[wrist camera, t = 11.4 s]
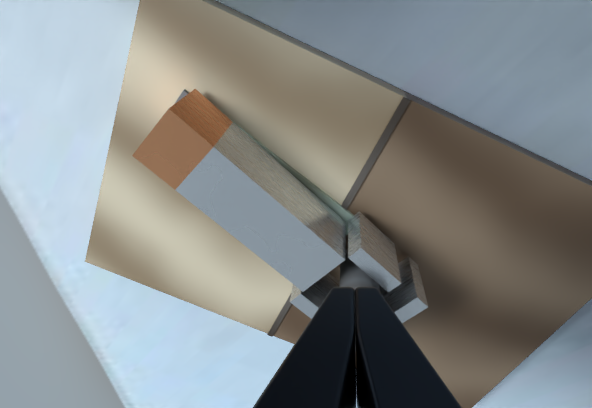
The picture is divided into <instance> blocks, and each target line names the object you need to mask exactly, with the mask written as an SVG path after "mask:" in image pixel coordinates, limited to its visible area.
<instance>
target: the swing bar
mask: <svg viewBox="0 0 592 408" xmlns="http://www.w3.org/2000/svg"><path fill="white" fill-rule="evenodd" d="M132 156H133V157H134V158H136V159H137V160H138V161H139V162H141V163H142V164H143V165H144V166H146V167H147V168H148V169H149V170H151V171H152V172H153V173H154V174H156V175H157V176H158V177H159V178H161V179H162V180H163V181H164V182H166V183H167V184H168V185H169V186H171V187H172V188H173V189H175V190H176V191H177V192H178V193H180V194H181V195H182V196H183V197H185V198H186V199H187V200H188V201H190V202H191V203H192V204H193V205H195V206H196V207H197V208H198V209H200V210H201V211H202V212H203V213H205V214H206V215H207V216H208V217H210V218H211V219H212V220H213V221H215V222H216V223H217V224H218V225H220V226H221V227H222V228H223V229H225V230H226V231H227V232H228V233H230V234H231V235H232V236H233V237H235V238H236V239H237V240H238V241H240V242H241V243H242V244H243V245H245V246H246V247H247V248H248V249H250V250H251V251H252V252H254V253H255V254H256V255H257V256H259V257H260V258H261V259H262V260H264V261H265V262H266V263H267V264H269V265H270V266H271V267H272V268H274V269H275V270H276V271H277V272H279V273H280V274H281V275H282V276H284V277H285V278H286V279H287V280H289V281H290V282H291V283H292V284H293V286H292V292H291V298H290V303H292V304H293V305H294V306H295V307H297V308H298V309H299V310H301V311H302V312H303V313H304V314H306V315H307V316H308V317H310V318H311V319H312V318H313V316H314V315H315V313H316V312H317V310H318V309H319V307H320V305H321V304H322V302H323V301H324V299H325V298H326V296H327V295H328V293H329V292H330V290H331V289H332V288H333V287H339V286H340V282H339V281H338V280H337V279H336V278H335V277H333V276H332V275H331V274H330V273H329V272H330V271H331V270H333V269H334V268H335V267H337V266H338V265H339V264H341V263H342V262H343V261H345V248H346V222H345V221H344V220H342V219H341V218H340V217H339V216H338V215H337V214H336V213H335V212H333V211H332V210H331V209H330V208H329V207H328V206H327V205H326V204H324V203H323V202H322V201H321V200H320V199H319V198H318V197H317V196H315V195H314V194H313V193H312V192H311V191H310V190H309V189H308V188H307V187H305V186H304V185H303V184H302V183H301V182H300V181H299V180H298V179H296V178H295V177H294V176H293V175H292V174H291V173H290V172H289V171H287V170H286V169H285V168H284V167H283V166H282V165H281V164H280V163H278V162H277V161H276V160H275V159H274V158H273V157H272V156H271V155H269V154H268V153H267V152H266V151H265V150H264V149H263V148H262V147H260V146H259V145H258V144H257V143H256V142H255V141H254V140H253V139H251V138H250V137H249V136H248V135H247V134H246V133H245V132H244V131H242V130H241V129H240V128H239V127H238V126H237V125H236V124H235V123H234V122H232V121H231V120H230V119H229V118H228V117H227V116H226V115H225V114H223V113H222V112H221V111H220V110H219V109H218V108H217V107H216V106H214V105H213V104H212V103H211V102H210V101H209V100H208V99H207V98H205V97H204V96H203V95H202V94H201V93H200V92H199V91H198V90H196V89H194V90H193V91H191V92H190V93H189V94H187V95H186V96H185V97H183V98H182V99H181V100H179V101H178V102H177V103H175V104H174V105H173V106H171V107H170V108H169V109H168V110H167V111H166V113H165V114H164V115H163V116H162V118H161V119H160V120H159V122H158V123H157V124H156V125H155V127H154V128H153V129H152V131H151V132H150V133H149V134H148V136H147V137H146V138H145V140H144V141H143V142H142V143H141V145H140V146H139V147H138V148H137V150H136V151H135V152H134V154H133V155H132ZM348 258H349V259H350V260H351V261H352V262H354V263H355V264H356V265H357V266H358V267H359V268H361V269H362V270H363V271H364V272H365V273H366V274H368V275H369V276H370V277H371V278H372V279H373V280H374V281H376V282H377V283H378V284H379V287H380V293H381V294H382V296H383V297H384V298H385V300H386V301H387V302H388V304H389V305H390V307H391V308H392V310H393V311H394V313H395V314H396V315H397V317H398V318H399V320H400V321H401V322H402V323H404V322H405V321H407V320H408V319H410V318H412V317H413V316H415V315H416V314H418V313H420V312H421V311H423V310H424V309H426V308H428V304H427V300H426V296H425V291H424V287H423V283H422V279H421V275H420V271H419V267H418V264H416V263H415V262H414V261H413V260H412V259H411V258H410V257H409V256H408V257H407V258H405V259H404V260H403V261H401V262H400V263H398V261H397V255H396V249H395V244H394V243H393V242H392V241H391V240H390V239H389V238H388V237H387V236H386V235H385V234H384V233H382V232H381V231H380V230H379V229H378V228H377V227H376V226H375V225H374V224H373V223H371V222H370V221H369V220H368V219H367V218H366V217H365V216H364V215H363V214H362V213H360V212H358V213H357V214H355V215H354V216H353V217H352V218H351V219H349V220H348Z"/></svg>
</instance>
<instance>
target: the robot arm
mask: <svg viewBox="0 0 592 408" xmlns="http://www.w3.org/2000/svg"><path fill="white" fill-rule="evenodd" d="M355 335H356V341H355ZM356 387H357V408H462V407H461V406H460V404H459V403H458V402H457V400H456V399H455V397H454V396H453V395H452V393H451V392H450V390H449V389H448V388H447V386H446V385H445V383H444V382H443V380H442V379H441V378H440V376H439V375H438V373H437V372H436V371H435V369H434V368H433V366H432V365H431V363H430V362H429V361H428V359H427V358H426V356H425V355H424V354H423V352H422V351H421V349H420V348H419V346H418V345H417V344H416V342H415V341H414V339H413V338H412V337H411V335H410V334H409V332H408V331H407V330H406V328H405V327H404V325H403V324H402V322H401V321H400V320H399V318H398V317H397V315H396V314H395V313H394V311H393V310H392V308H391V307H390V305H389V304H388V303H387V301H386V300H385V298H384V297H383V296H382V294H381V293H380V291H379V290H378V289H377V288H376V287H357V288H356V289H355V291H354V288H352V287H333V288H332V289H331V290H330V292H329V293H328V295H327V296H326V298H325V299H324V301H323V302H322V304H321V305H320V307H319V309H318V310H317V312H316V313H315V315H314V316H313V318H312V319H311V321H310V322H309V324H308V325H307V327H306V328H305V330H304V331H303V333H302V334H301V336H300V337H299V339H298V340H297V342H296V343H295V345H294V346H293V348H292V349H291V351H290V352H289V354H288V355H287V357H286V358H285V360H284V361H283V363H282V364H281V366H280V367H279V369H278V370H277V372H276V373H275V375H274V376H273V378H272V380H271V381H270V383H269V384H268V386H267V387H266V389H265V390H264V392H263V393H262V395H261V396H260V398H259V399H258V401H257V402H256V404H255V405H254V407H253V408H356Z"/></svg>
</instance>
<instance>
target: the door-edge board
mask: <svg viewBox="0 0 592 408" xmlns="http://www.w3.org/2000/svg"><path fill="white" fill-rule="evenodd" d="M194 89H196V90H198V91H199V92H200V93H201V94H202V95H203V96H204V97H205V98H207V99H208V100H209V101H210V102H211V103H212V104H213V105H214V106H216V107H217V108H218V109H219V110H220V111H221V112H222V113H223V114H225V115H226V116H227V117H228V118H229V119H230V120H231V121H232V122H234V123H235V124H236V125H237V126H238V127H239V128H240V129H241V130H242V131H244V132H245V133H246V134H247V135H248V136H249V137H250V138H251V139H253V140H254V141H255V142H256V143H257V144H258V145H259V146H260V147H262V148H263V149H264V150H265V151H266V152H267V153H268V154H269V155H271V156H272V157H273V158H274V159H275V160H276V161H277V162H278V163H280V164H281V165H282V166H283V167H284V168H285V169H286V170H287V171H289V172H290V173H291V174H292V175H293V176H294V177H295V178H296V179H298V180H299V181H300V182H301V183H302V184H303V185H304V186H305V187H307V188H308V189H309V190H310V191H311V192H312V193H313V194H314V195H315V196H317V197H318V198H319V199H320V200H321V201H322V202H323V203H324V204H326V205H327V206H328V207H329V208H330V209H331V210H332V211H333V212H335V213H336V214H337V215H338V216H339V217H340V218H341V219H342V220H344V221H345V222H346V248H345V261H343V262H342V263H341V264H339V265H338V266H337V267H335V268H334V269H333V270H331V271H330V272H329V273H330V274H331V275H332V276H333V277H335V278H336V279H337V280H338V281H339V282H340V286H339V287H352V288H354V291H355V289H356V288H357V287H376V288H377V289H378V290H379V291H380V287H379V284H378V283H377V282H376V281H374V280H373V279H372V278H371V277H370V276H369V275H368V274H366V273H365V272H364V271H363V270H362V269H361V268H359V267H358V266H357V265H356V264H355V263H354V262H352V261H351V260H350V259H349V258H348V220H349V219H351V218H352V217H353V216H354V215H355V214H357V213H358V212H360V213H362V214H363V215H364V216H365V217H366V218H367V219H368V220H369V221H370V222H371V223H373V224H374V225H375V226H376V227H377V228H378V229H379V230H380V231H381V232H382V233H384V234H385V235H386V236H387V237H388V238H389V239H390V240H391V241H392V242H393V243H394V244H395V249H396V255H397V261H398V263H400V262H401V261H403V260H404V259H405V258H407V257H408V256H409V257H410V258H411V259H412V260H413V261H414V262H415V263H416V264H418V267H419V271H420V275H421V279H422V283H423V287H424V291H425V296H426V300H427V304H428V308H426V309H424V310H423V311H421V312H420V313H418V314H416V315H415V316H413V317H412V318H410V319H408V320H407V321H405V322H404V323H402V324H403V325H404V327H405V328H406V330H407V331H408V332H409V334H410V335H411V337H412V338H413V339H414V341H415V342H416V344H417V345H418V346H419V348H420V349H421V351H422V352H423V354H424V355H425V356H426V358H427V359H428V361H429V362H430V363H431V365H432V366H433V368H434V369H435V371H436V372H437V373H438V375H439V376H440V378H441V379H442V380H443V382H444V383H445V385H446V386H447V388H448V389H449V390H450V392H451V393H452V395H453V396H454V397H455V399H456V400H457V402H458V403H459V404H460V406H461V407H462V408H472V407H473V406H474V405H475V404H476V403H477V402H478V401H480V400H481V399H482V398H483V397H484V396H485V395H486V394H487V393H488V392H489V391H490V390H492V389H493V388H494V387H495V386H496V385H497V384H498V383H499V382H500V381H501V380H503V379H504V378H505V377H506V376H507V375H508V374H509V373H510V372H511V371H512V370H514V369H515V368H516V367H517V366H518V365H519V364H520V363H521V362H522V361H523V360H524V359H526V358H527V357H528V356H529V355H530V354H531V353H532V352H533V351H534V350H535V349H537V348H538V347H539V346H540V345H541V344H542V343H543V342H544V341H545V340H546V339H548V338H549V337H550V336H551V335H552V334H553V333H554V332H555V331H556V330H557V329H558V328H560V327H561V326H562V325H563V324H564V323H565V322H566V321H567V320H568V319H569V318H571V317H572V316H573V315H574V314H575V313H576V312H577V311H578V310H579V309H580V308H582V307H583V306H584V305H585V304H586V303H587V302H588V301H589V300H590V299H591V298H592V181H591V180H589V179H587V178H584V177H582V176H580V175H578V174H576V173H574V172H572V171H570V170H568V169H566V168H564V167H561V166H559V165H557V164H555V163H553V162H551V161H549V160H547V159H545V158H543V157H541V156H539V155H536V154H534V153H532V152H530V151H528V150H526V149H524V148H522V147H520V146H518V145H516V144H513V143H511V142H509V141H507V140H505V139H503V138H501V137H499V136H497V135H495V134H493V133H491V132H488V131H486V130H484V129H482V128H480V127H478V126H476V125H474V124H472V123H470V122H468V121H465V120H463V119H461V118H459V117H457V116H455V115H453V114H451V113H449V112H447V111H445V110H443V109H440V108H438V107H436V106H434V105H432V104H430V103H428V102H426V101H424V100H422V99H420V98H417V97H415V96H413V95H411V94H409V93H407V92H405V91H403V90H401V89H399V88H397V87H394V86H392V85H390V84H388V83H386V82H384V81H382V80H380V79H378V78H376V77H374V76H372V75H369V74H367V73H365V72H363V71H361V70H359V69H357V68H355V67H353V66H351V65H349V64H346V63H344V62H342V61H340V60H338V59H336V58H334V57H332V56H330V55H328V54H326V53H324V52H321V51H319V50H317V49H315V48H313V47H311V46H309V45H307V44H305V43H303V42H301V41H298V40H296V39H294V38H292V37H290V36H288V35H286V34H284V33H282V32H280V31H278V30H276V29H273V28H271V27H269V26H267V25H265V24H263V23H261V22H259V21H257V20H255V19H253V18H250V17H248V16H246V15H244V14H242V13H240V12H238V11H236V10H234V9H232V8H230V7H228V6H225V5H223V4H221V3H219V2H217V1H215V0H140V2H139V7H138V12H137V17H136V21H135V26H134V31H133V36H132V40H131V45H130V50H129V55H128V59H127V64H126V69H125V74H124V78H123V83H122V88H121V93H120V98H119V102H118V107H117V112H116V117H115V121H114V126H113V131H112V136H111V140H110V145H109V150H108V155H107V160H106V164H105V169H104V174H103V179H102V183H101V188H100V193H99V198H98V202H97V207H96V212H95V217H94V221H93V226H92V231H91V236H90V241H89V245H88V250H87V255H86V260H85V262H87V263H90V264H93V265H95V266H98V267H100V268H103V269H105V270H108V271H110V272H113V273H115V274H118V275H120V276H123V277H126V278H128V279H131V280H133V281H136V282H138V283H141V284H143V285H146V286H148V287H151V288H153V289H156V290H159V291H161V292H164V293H166V294H169V295H171V296H174V297H176V298H179V299H181V300H184V301H186V302H189V303H192V304H194V305H197V306H199V307H202V308H204V309H207V310H209V311H212V312H214V313H217V314H219V315H222V316H225V317H227V318H230V319H232V320H235V321H237V322H240V323H242V324H245V325H247V326H250V327H252V328H255V329H258V330H260V331H263V332H265V333H268V335H269V336H275V337H278V338H280V339H283V340H285V341H288V342H291V343H293V344H295V343H296V342H297V340H298V339H299V337H300V336H301V334H302V333H303V331H304V330H305V328H306V327H307V325H308V324H309V322H310V321H311V318H310V317H308V316H307V315H306V314H304V313H303V312H302V311H301V310H299V309H298V308H297V307H295V306H294V305H293V304H292V303H290V298H291V292H292V286H293V284H292V283H291V282H290V281H289V280H287V279H286V278H285V277H284V276H282V275H281V274H280V273H279V272H277V271H276V270H275V269H274V268H272V267H271V266H270V265H269V264H267V263H266V262H265V261H264V260H262V259H261V258H260V257H259V256H257V255H256V254H255V253H254V252H252V251H251V250H250V249H248V248H247V247H246V246H245V245H243V244H242V243H241V242H240V241H238V240H237V239H236V238H235V237H233V236H232V235H231V234H230V233H228V232H227V231H226V230H225V229H223V228H222V227H221V226H220V225H218V224H217V223H216V222H215V221H213V220H212V219H211V218H210V217H208V216H207V215H206V214H205V213H203V212H202V211H201V210H200V209H198V208H197V207H196V206H195V205H193V204H192V203H191V202H190V201H188V200H187V199H186V198H185V197H183V196H182V195H181V194H180V193H178V192H177V191H176V190H175V189H173V188H172V187H171V186H169V185H168V184H167V183H166V182H164V181H163V180H162V179H161V178H159V177H158V176H157V175H156V174H154V173H153V172H152V171H151V170H149V169H148V168H147V167H146V166H144V165H143V164H142V163H141V162H139V161H138V160H137V159H136V158H134V157H133V156H132V155H133V154H134V152H135V151H136V150H137V148H138V147H139V146H140V145H141V143H142V142H143V141H144V140H145V138H146V137H147V136H148V134H149V133H150V132H151V131H152V129H153V128H154V127H155V125H156V124H157V123H158V122H159V120H160V119H161V118H162V116H163V115H164V114H165V113H166V111H167V110H168V109H169V108H170V107H171V106H173V105H174V104H175V103H177V102H178V101H179V100H181V99H182V98H183V97H185V96H186V95H187V94H189V93H190V92H191V91H193V90H194ZM387 303H388V302H387ZM355 341H356V335H355Z"/></svg>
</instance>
